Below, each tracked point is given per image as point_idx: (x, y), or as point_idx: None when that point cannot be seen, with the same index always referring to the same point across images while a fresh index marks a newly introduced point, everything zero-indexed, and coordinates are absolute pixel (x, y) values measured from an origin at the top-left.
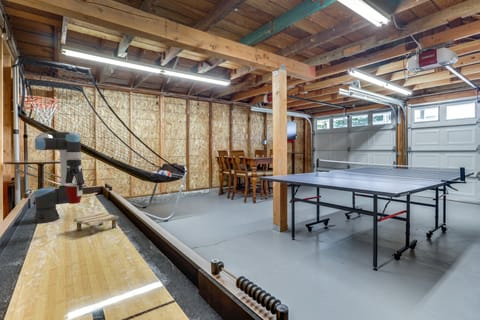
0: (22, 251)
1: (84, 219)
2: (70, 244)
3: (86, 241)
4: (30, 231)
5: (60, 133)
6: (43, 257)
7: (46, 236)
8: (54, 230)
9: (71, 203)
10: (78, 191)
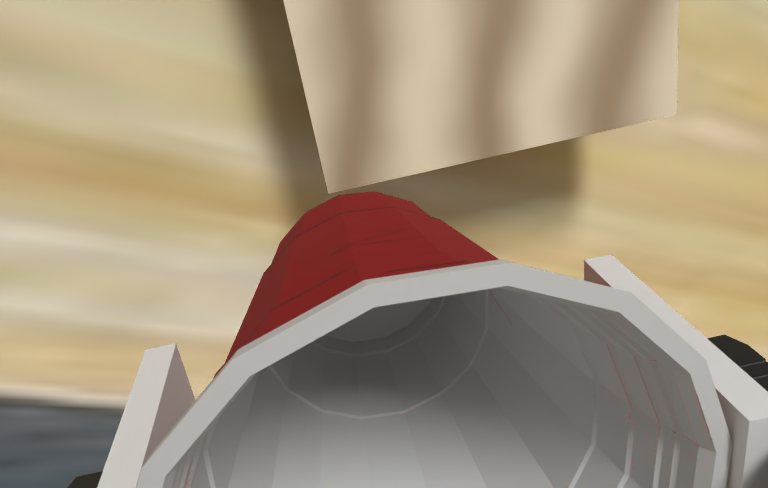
0: None
1: (449, 105)
2: (659, 255)
3: (702, 155)
4: (19, 426)
5: None
6: None
7: None
8: (141, 278)
9: (414, 328)
10: None
